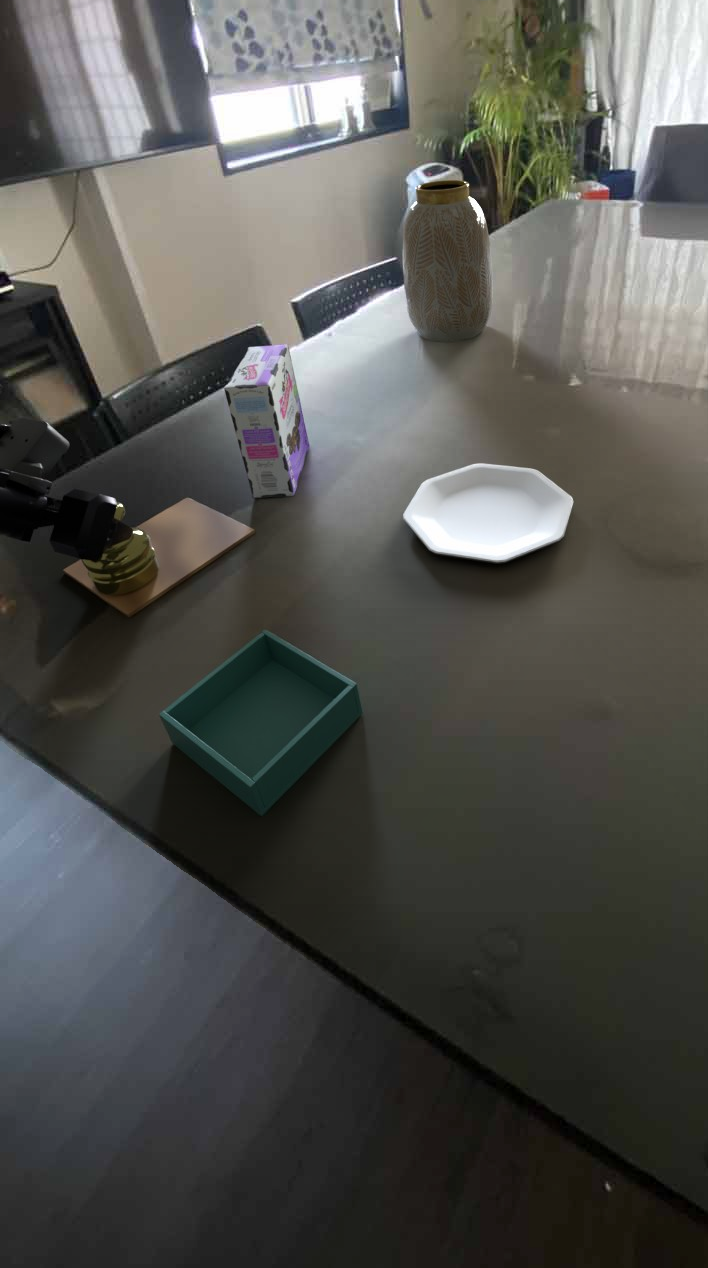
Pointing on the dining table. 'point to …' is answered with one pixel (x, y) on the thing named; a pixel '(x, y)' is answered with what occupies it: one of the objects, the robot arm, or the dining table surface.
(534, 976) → the dining table surface
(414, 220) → the vase
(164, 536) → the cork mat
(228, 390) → the candy box
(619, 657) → the dining table surface
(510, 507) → the plate
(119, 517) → the brass door knob
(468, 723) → the dining table surface
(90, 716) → the dining table surface
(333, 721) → the storage box
